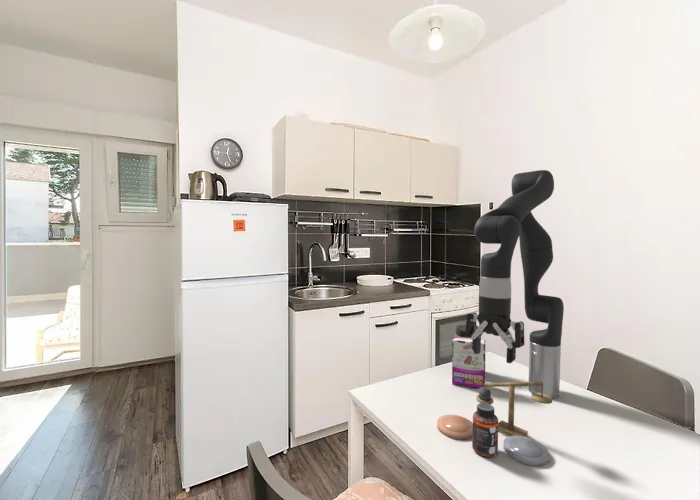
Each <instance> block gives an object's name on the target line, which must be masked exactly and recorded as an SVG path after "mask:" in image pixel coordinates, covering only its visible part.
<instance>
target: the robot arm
mask: <svg viewBox="0 0 700 500" xmlns="http://www.w3.org/2000/svg"><path fill="white" fill-rule="evenodd" d="M554 190H555V180H554V176H553V174H552V173H551V171H550V170H547V169H539V170H533V171H532V170H531V171H525V172H519V173H515V174H514V175H513V177H512V180H511V195H510V196H509V197H507V198H506V199H505V200H504V201H503V202H502V203H501V204H499V206H498V207H497V208H495V209H492V210H490V211H488V212H487V213H484V214H483V215H481V216H480V217H479V218H478V219H477V221H476V222H475V225H474V228H473V235H474V237H475V238H476V240H477V241H478V242H479V243H482V244H490V245H493V244H494V245H500V247H499V248H498V250H496V251H495V252H489V253H485V254H483V255H482V256H481V258H480V278H479V279H480V280H479V285H478V314H477V313H475V312H470V313H467V314H466V319H465V320H466V321H465V322H466V323H465V325H466V332H465V334H466V335H467V336H468V335H469V336H470V337H472V340H473V342H472V349H473V351H474V353H475V354H479V353H480V351H481V340H482V336H483V334H486V335H487V334H488V335H494V336H497V337H499V338H500V339H501V340H502V341H503V342H504V344H505V345H506V364H511V363H513V362H514V361H516V357H517V355H516V353H517V352H516V351H517V350H516V349H520V348H521V347H523V346H525V323H524V322H523V321H521V320H520V321H512V319H511V311H512V310H511V308H512V282H511V280H512V279H511V278H512V276H511V274H512V272H511V271H512V270H511V269H512V259H513V256H514V252H515V248H516V245H517V242H518V240H519V249H520V258H521V259H520V260H521V263H522V264H521V266H522V273H523V284H524V285H523V286H524V290H523V292H524V310H525V311H524V312H525V315H526V318H527V319H529V320H530V321H533V322H539V323H543V324H547V328H544V329H539V330H533V331H531V332H530V334H529V348H528V349H529V352H528V355H529V357H528V382H543V394H546V395H549V396H550V397H552V399H555V398H556V399H557V398H559V396H560V383H561V350H562V348H561V347H562V335H563V322H564V320H563V319H564V312H565V311H564V309H565V306H564V302H563V299H562V298H560V297H558V296H553V295H545V294H544V295H542V294H539V285H540V282H541V279H543V277H544V275H545V274H546V273H547V271H548V270H549V268H550V267H551V265H552V263H553V261H554V252H553V251H554V250H553V241H552V238H551V236H550V234H549V233H548V232H547V231H546V229H545V228H544V227H543V226H542V225H541V224H540V223H539V222H538V220H537V219H536V218H535V217H534V216H535V215H534V214H533V213H532V211H533V210H534V209H535V208H537V207H538V206H540V205H541V204H543V203H544V202H545V201H547V200H549V199H550V198H551V197H552V195H553V193H554ZM476 322H478V324H479V326H478V328H477V330H476V331H475V332H474V328H475V325H476ZM510 328H512V330H513V331H514V337H513V334H512V332H511V331H510ZM480 337H481V339H480ZM527 387H528V391H529V393H531V394H533V393H541V389H542V386H527Z"/></svg>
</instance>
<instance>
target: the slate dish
mask: <svg viewBox="0 0 700 500" xmlns="http://www.w3.org/2000/svg"><path fill="white" fill-rule="evenodd" d="M503 450H504V453H505V454H506V455H507V456H509V457H510V459H513V460H514V461H516V462H518V463H521V464H522V465H526V466H530V467H542V466H546V464H548V463H549V462H550V461H549V460H550V451H549V449H548V448H547V447H546V446H545V445H543V444H542V443H541V442H539V441H537V440H536V439H534V438H531V437H528V436H527V437H524V436H509V437H508V436H506V437H505V439H503Z"/></svg>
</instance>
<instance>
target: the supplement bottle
mask: <svg viewBox="0 0 700 500" xmlns="http://www.w3.org/2000/svg"><path fill="white" fill-rule="evenodd" d="M495 412H496V411H495V407H494V405H492V404H487V403H480V402H478V403H477V405H476V411H474V412H473V415H472V423H473V429H472V437H471V439H472V440H471V446H472V450H473V451H474V452H475V453H476V454H478V455H479V456H482V457H487V458H493V457H495V456H497V455H498V452H499V451H498V449H499V448H498V447H499V432H498V423H499V418H498V417H497V415H496V414H495Z"/></svg>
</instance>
